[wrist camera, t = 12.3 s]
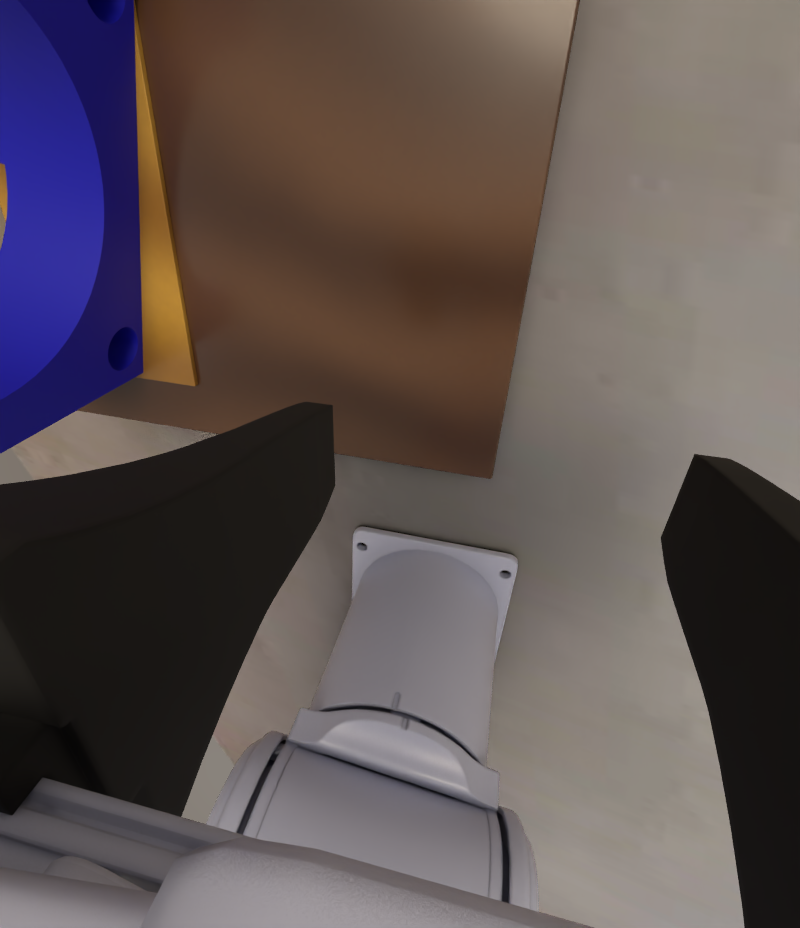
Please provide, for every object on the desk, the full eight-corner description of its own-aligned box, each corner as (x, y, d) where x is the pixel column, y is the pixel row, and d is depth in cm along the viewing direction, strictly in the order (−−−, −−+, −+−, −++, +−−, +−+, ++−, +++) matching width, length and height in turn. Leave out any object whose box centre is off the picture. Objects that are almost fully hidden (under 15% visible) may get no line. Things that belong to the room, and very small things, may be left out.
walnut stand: (497, 433, 21) (491, 483, 18) (129, 377, 24) (66, 412, 20) (590, -82, 13) (609, -158, 10) (19, -80, 16) (-111, -139, 12)
